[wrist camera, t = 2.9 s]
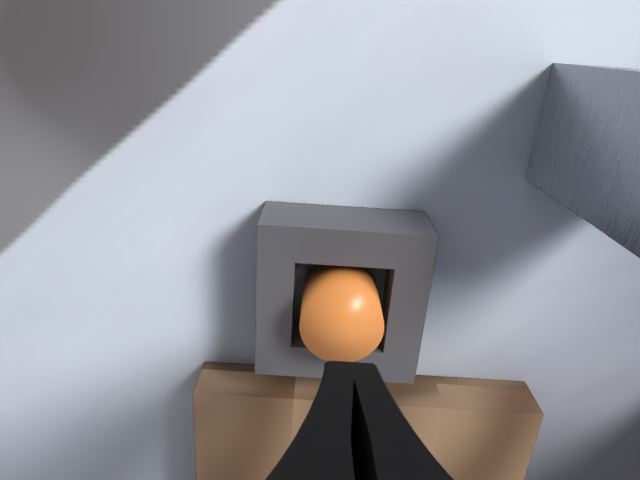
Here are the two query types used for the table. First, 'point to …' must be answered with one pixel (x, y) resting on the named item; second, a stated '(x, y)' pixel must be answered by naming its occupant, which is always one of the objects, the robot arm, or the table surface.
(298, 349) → the button housing
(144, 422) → the table surface
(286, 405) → the wooden board
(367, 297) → the button cap
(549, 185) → the billet
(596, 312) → the table surface
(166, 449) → the table surface
